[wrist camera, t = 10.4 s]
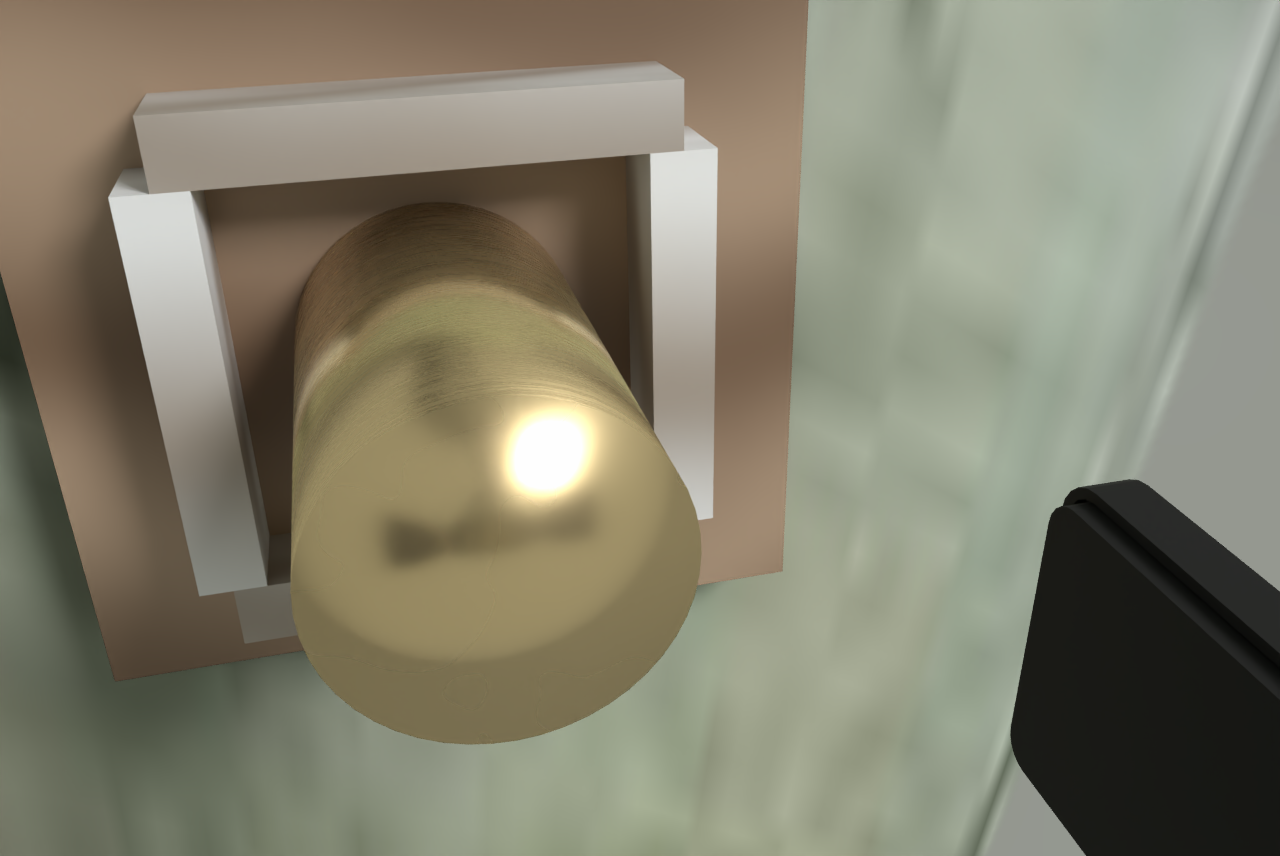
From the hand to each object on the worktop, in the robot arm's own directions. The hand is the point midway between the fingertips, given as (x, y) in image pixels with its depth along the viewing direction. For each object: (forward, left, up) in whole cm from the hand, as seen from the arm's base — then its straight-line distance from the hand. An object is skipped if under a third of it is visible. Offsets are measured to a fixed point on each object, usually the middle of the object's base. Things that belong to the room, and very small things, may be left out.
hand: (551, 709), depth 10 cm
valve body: (+1, 0, -10) cm, 10 cm away
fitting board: (+1, 0, -11) cm, 11 cm away
